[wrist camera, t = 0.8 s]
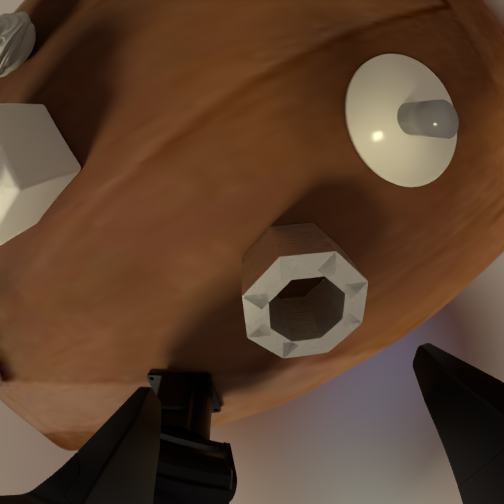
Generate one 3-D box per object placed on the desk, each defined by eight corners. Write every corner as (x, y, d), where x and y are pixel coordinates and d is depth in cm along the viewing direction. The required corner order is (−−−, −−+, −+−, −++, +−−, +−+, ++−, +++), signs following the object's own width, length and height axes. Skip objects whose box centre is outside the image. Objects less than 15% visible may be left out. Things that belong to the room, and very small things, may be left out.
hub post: (451, 186, 17) (489, 201, 13) (347, 186, 17) (377, 202, 13) (446, 70, 13) (484, 64, 9) (336, 46, 13) (363, 23, 9)
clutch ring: (337, 306, 21) (357, 346, 17) (248, 316, 21) (250, 361, 17) (342, 220, 18) (372, 247, 14) (238, 229, 18) (237, 260, 14)
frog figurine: (27, 95, 13) (-32, 94, 7) (-3, 70, 11) (-54, 68, 5) (67, 30, 11) (13, 8, 5) (31, 14, 9) (-16, -2, 3)
